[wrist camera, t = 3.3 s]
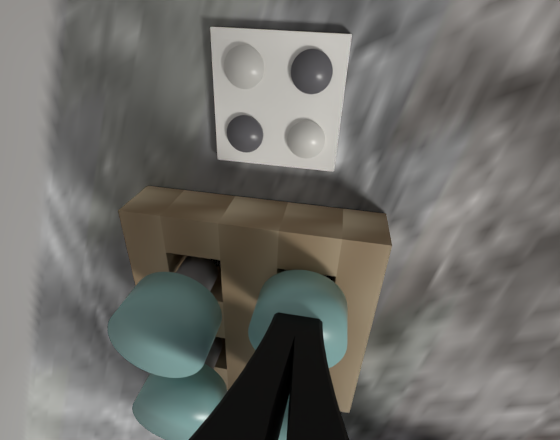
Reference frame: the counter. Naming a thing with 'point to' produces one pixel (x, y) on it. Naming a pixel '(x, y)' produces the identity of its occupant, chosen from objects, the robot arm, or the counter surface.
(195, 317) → the button
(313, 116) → the pattern card
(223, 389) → the button
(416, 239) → the counter surface
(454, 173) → the counter surface
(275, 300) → the button
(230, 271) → the button board
